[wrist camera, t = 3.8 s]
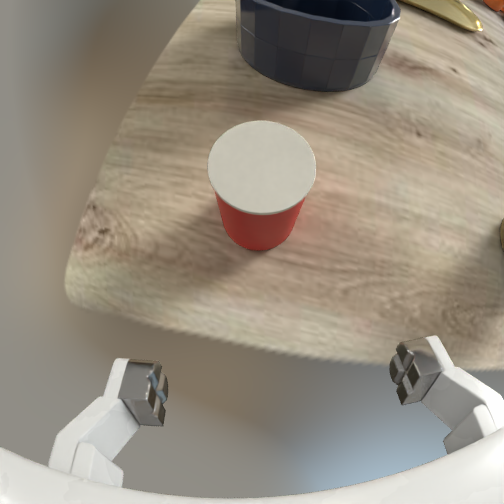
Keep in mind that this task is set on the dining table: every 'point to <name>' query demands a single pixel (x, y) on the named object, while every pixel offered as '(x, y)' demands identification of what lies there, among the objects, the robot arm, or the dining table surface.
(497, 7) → the toy tea set
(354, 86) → the pot
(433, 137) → the dining table surface
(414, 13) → the dining table surface
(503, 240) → the squeeze bottle
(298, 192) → the disc
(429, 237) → the dining table surface
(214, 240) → the dining table surface
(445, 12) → the serving platter
